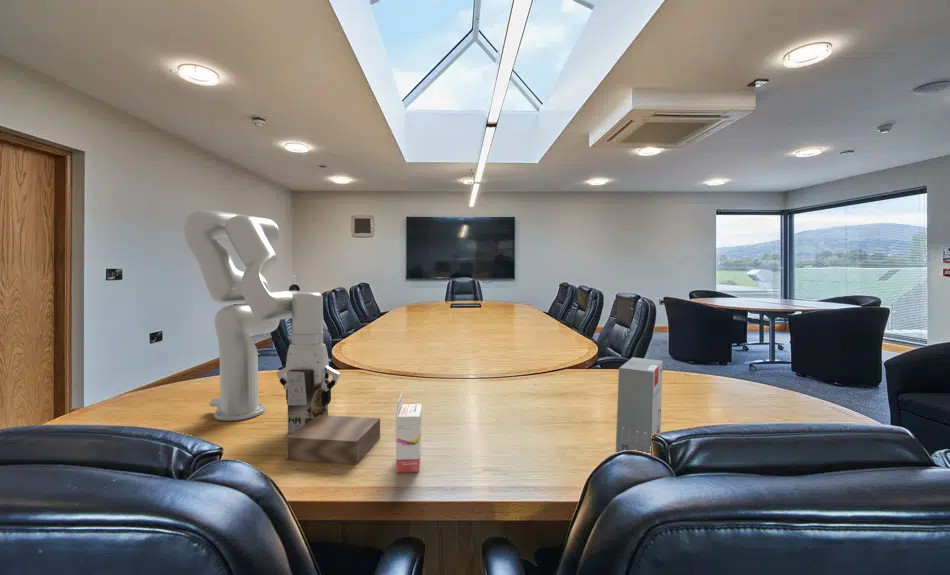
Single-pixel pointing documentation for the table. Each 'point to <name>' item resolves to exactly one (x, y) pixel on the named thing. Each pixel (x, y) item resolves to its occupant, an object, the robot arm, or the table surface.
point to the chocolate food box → (303, 399)
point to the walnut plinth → (334, 439)
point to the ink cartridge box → (408, 437)
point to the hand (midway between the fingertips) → (308, 403)
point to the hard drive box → (638, 404)
